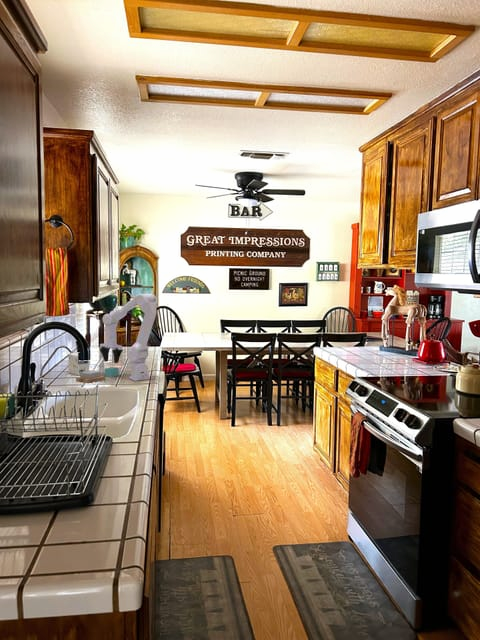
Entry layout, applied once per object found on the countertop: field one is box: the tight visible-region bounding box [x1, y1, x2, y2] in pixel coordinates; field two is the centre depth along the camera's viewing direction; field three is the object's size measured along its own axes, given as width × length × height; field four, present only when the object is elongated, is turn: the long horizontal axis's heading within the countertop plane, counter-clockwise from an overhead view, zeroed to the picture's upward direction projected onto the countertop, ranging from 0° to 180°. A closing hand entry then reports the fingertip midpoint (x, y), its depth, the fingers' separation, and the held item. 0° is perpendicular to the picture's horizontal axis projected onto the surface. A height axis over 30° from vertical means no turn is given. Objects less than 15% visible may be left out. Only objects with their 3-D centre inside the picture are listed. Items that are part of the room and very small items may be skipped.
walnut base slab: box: [75, 375, 106, 384], centre depth 241 cm, size 10×10×2 cm
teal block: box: [104, 366, 119, 378], centre depth 254 cm, size 5×5×4 cm
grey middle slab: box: [79, 370, 102, 379], centre depth 241 cm, size 7×7×2 cm
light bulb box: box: [67, 352, 90, 376], centre depth 259 cm, size 11×7×11 cm, turn 47°
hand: (111, 362), depth 254 cm, fingers open, 7 cm apart
